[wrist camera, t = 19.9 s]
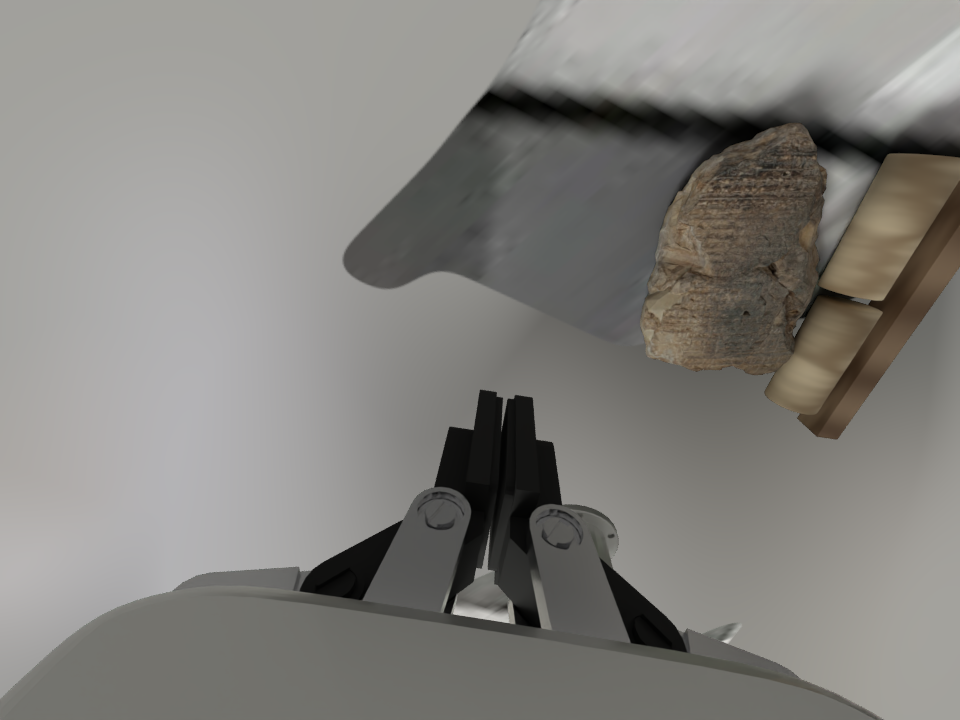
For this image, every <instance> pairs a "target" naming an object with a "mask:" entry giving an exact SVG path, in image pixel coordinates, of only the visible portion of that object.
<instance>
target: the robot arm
mask: <svg viewBox="0 0 960 720" xmlns="http://www.w3.org/2000/svg"><path fill="white" fill-rule="evenodd" d="M496 396H497V392H492V391H486V390H480V393H479V399H478V407H477V413H476V419H475V426H474V430H469V429H462V428H456V427H449V430H448V434H447V438H446V442H445V447H444V450H443V454H442V458H441V462H440V466H439V470H438V474H437V478H436V482H435V486H434V488H430V489H428V490H424V491H423V492H421V493H420V494H419V495H417V497H416V498H415V499H414V500H413V502H412V504H411V506H410V508H409V510H408V512H407V514H406V516H405V518H404V519H403V520H402V521H400V522H398V523H396V524H394V525H392V526H390V527H388V528H386V529H385V530H383V531H381V532H379V533H377V534H375V535H373V536H372V537H369V538H368V539H366V540H364V541H362V542H360V543H358V544H356V545H355V546H353V547H351V548H349V549H347V550H345V551H343V552H341V553H339V554H338V555H336V556H334V557H332V558H330V559H328V560H326V561H324V562H323V563H321V564H320V565H318V566H317V567H315V568H314V569H313V570H312V571H302V572H300V569H299V567H289V568H274V569H259V570H244V571H230V572H214V573H206V574H202V575H198V576H195V577H193V578H191V579H189V580H187V581H185V582H183V583H182V584H180V585H179V586H178V587H177V588H176V589H174V590H173V591H172V592H167V593H163V594H158V595H154V596H150V597H147V598H143V599H140V600H136V601H133V602H131V603H128V604H125V605H123V606H120V607H117V608H115V609H113V610H111V611H109V612H107V613H105V614H103V615H101V616H99V617H97V618H96V619H94V620H93V621H91V622H90V623H88V624H86V625H85V626H83V627H82V628H81V629H79V630H78V631H77V632H75V633H74V634H72V635H71V636H70V637H69V638H67V639H66V640H65V641H64V642H62V643H61V644H60V645H59V646H58V647H56V648H55V649H54V650H53V651H52V652H51V653H49V654H48V655H47V656H46V657H45V658H44V659H43V660H42V661H41V662H39V664H37V665H36V666H35V667H34V668H33V669H32V670H31V671H30V672H29V673H27V674H26V675H25V676H24V677H23V678H22V679H21V680H20V681H19V682H18V683H17V684H15V686H13V688H11V689H10V690H9V691H8V692H7V693H6V694H5V695H4V696H3V697H2V698H1V699H0V720H883V719H882V718H880V717H879V716H877V715H875V714H874V713H872V712H870V711H868V710H867V709H865V708H862V707H861V706H859V705H857V704H855V703H853V702H851V701H850V700H848V699H846V698H844V697H842V696H840V695H838V694H836V693H834V692H831V691H829V690H826V689H824V688H822V687H819V686H817V685H814V684H812V683H809V682H807V681H804V680H802V679H800V678H799V677H798V676H797V675H795V674H794V673H793V672H792V671H791V670H789V669H787V668H785V667H783V666H782V665H780V664H778V663H776V662H773V661H770V660H768V659H765V658H763V657H760V656H757V655H755V654H752V653H750V652H747V651H745V650H742V649H739V648H736V647H734V646H731V645H729V644H726V643H724V642H721V641H719V640H716V639H713V638H711V637H708V636H706V635H703V634H701V633H698V632H695V631H692V630H690V629H686V631H685V632H681V631H679V630H677V628H676V627H675V626H674V625H673V623H672V622H671V621H670V620H669V619H668V618H667V617H666V616H665V615H664V614H663V613H662V612H660V611H659V610H658V609H657V608H656V607H655V606H654V605H653V604H651V603H650V602H649V601H648V600H647V599H646V598H645V597H644V596H642V595H641V594H640V593H639V592H638V591H637V590H636V589H635V588H633V587H632V586H631V585H630V584H629V583H628V582H627V581H626V580H624V579H623V578H622V577H621V576H620V575H619V574H618V573H616V571H614V570H613V567H612V563H611V559H612V557H613V556H614V554H615V553H616V551H617V548H618V535H617V532H616V529H615V526H614V524H613V523H612V522H611V521H610V519H609V518H608V517H606V516H605V515H604V514H602V513H600V512H599V511H597V510H594V509H592V508H589V507H585V506H580V505H562V501H561V494H560V487H559V480H558V473H557V466H556V459H555V451H554V446H553V443H552V442H547V441H541V440H536V434H535V421H534V408H533V398H532V397H524V396H519V395H515V398H514V399H508V400H507V406H506V410H505V416H504V421H503V426H502V431H501V425H502V404H503V398H501V397H496ZM489 530H490V543H489V557H488V570H494V571H495V580H494V584H496V585H498V586H499V587H500V588H501V590H502V591H503V592H504V593H505V594H506V595H507V597H508V598H509V599H508V614H509V622H510V623H503V622H497V621H491V620H484V619H478V618H472V617H465V616H459V615H453V611H454V608H455V604H456V601H457V595H458V593H459V592H460V591H462V590H463V589H464V588H466V587H467V586H468V585H470V584H471V583H472V582H473V581H474V576H475V571H476V568H482V565H483V560H484V555H485V550H486V545H487V540H488V535H489Z"/></svg>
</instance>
